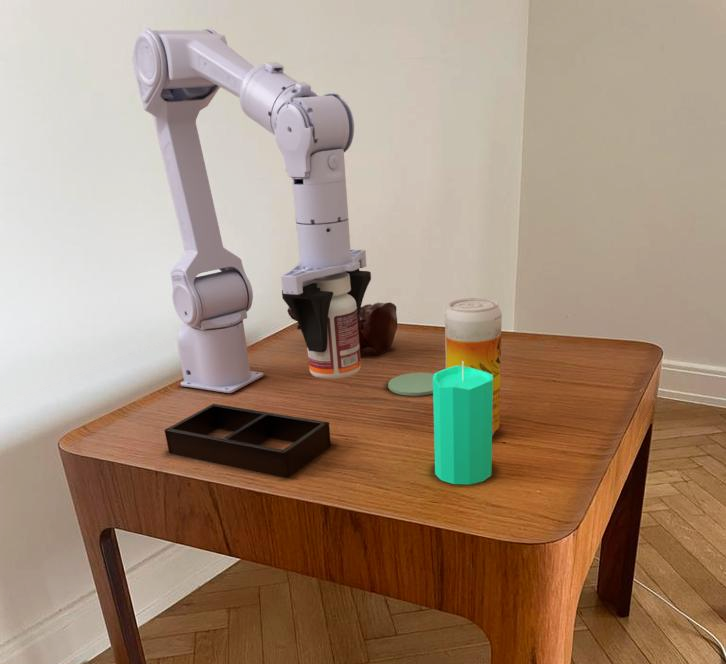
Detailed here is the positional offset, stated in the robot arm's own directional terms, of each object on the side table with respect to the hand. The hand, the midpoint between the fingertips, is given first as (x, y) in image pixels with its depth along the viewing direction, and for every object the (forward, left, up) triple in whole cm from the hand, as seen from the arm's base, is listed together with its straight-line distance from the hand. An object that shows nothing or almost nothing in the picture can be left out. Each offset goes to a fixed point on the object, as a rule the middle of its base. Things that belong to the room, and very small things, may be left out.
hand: (332, 342), depth 87 cm
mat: (+3, +16, -10) cm, 19 cm away
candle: (+19, -6, -10) cm, 23 cm away
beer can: (+16, +4, -10) cm, 19 cm away
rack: (-6, -10, -10) cm, 16 cm away
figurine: (-16, +27, -11) cm, 33 cm away
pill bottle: (0, 0, -4) cm, 4 cm away
